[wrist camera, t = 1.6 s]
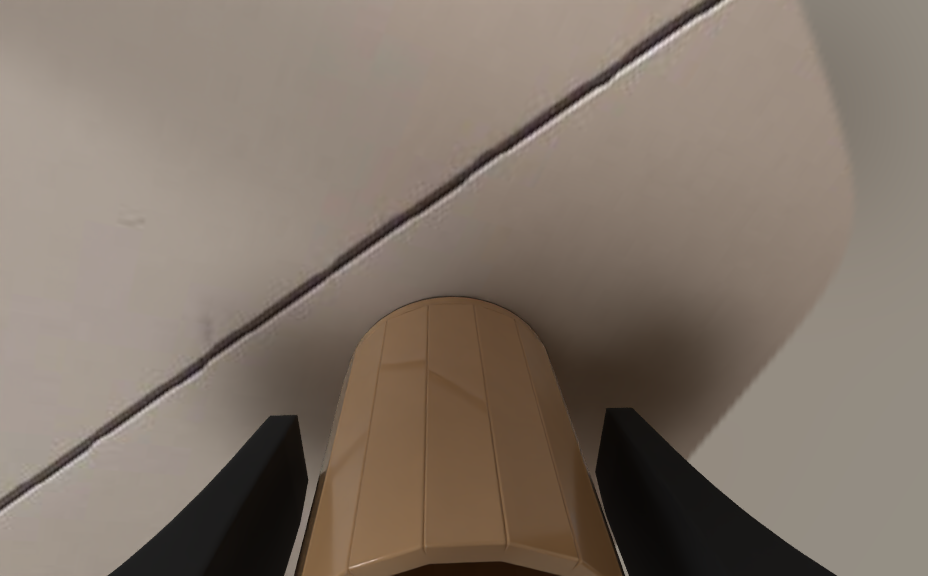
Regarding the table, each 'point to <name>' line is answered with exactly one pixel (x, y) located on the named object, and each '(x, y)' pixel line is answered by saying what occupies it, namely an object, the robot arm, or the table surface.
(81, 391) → the table surface
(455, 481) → the paper cup
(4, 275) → the table surface
